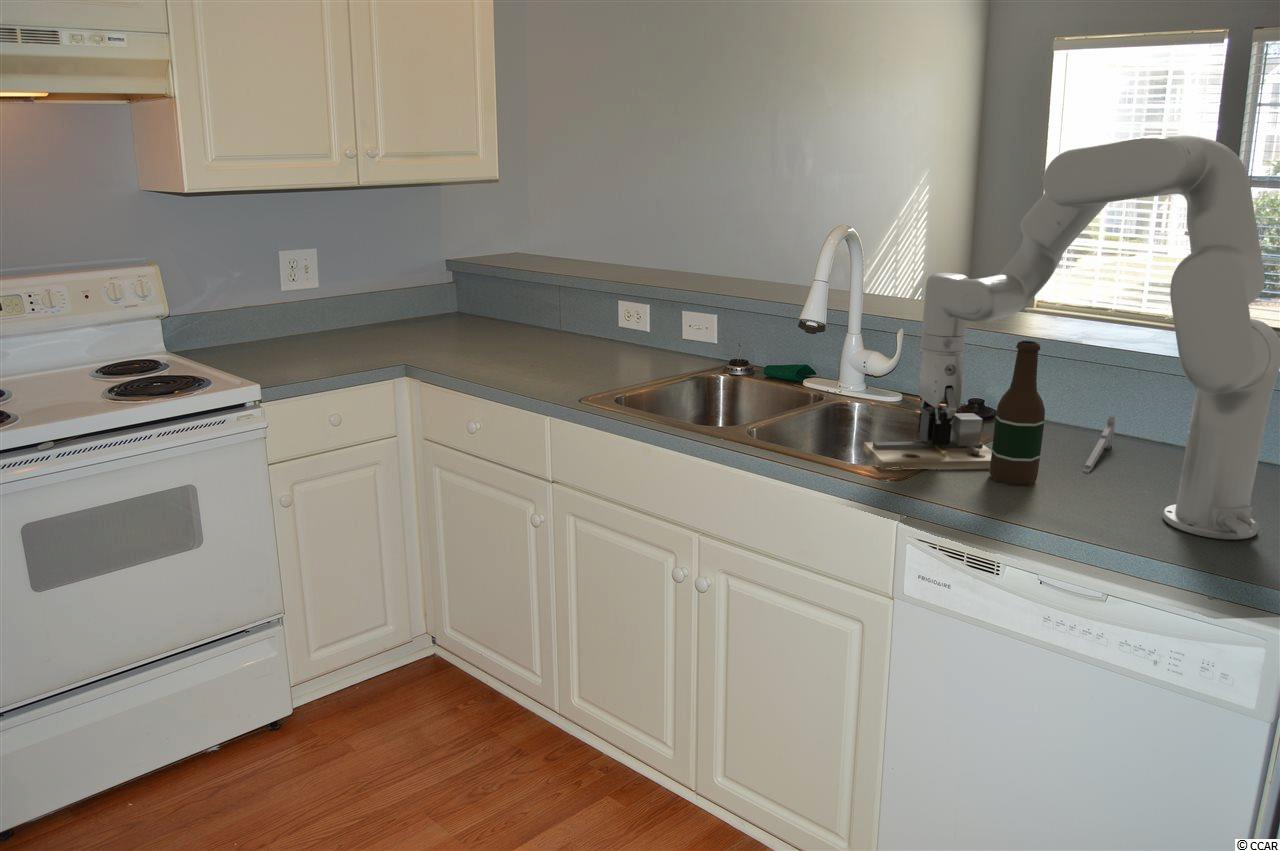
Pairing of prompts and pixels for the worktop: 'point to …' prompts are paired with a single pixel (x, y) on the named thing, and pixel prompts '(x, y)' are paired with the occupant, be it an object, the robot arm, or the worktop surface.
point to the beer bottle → (1019, 423)
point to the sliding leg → (929, 427)
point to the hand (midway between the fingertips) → (933, 437)
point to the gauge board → (917, 454)
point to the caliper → (1101, 444)
